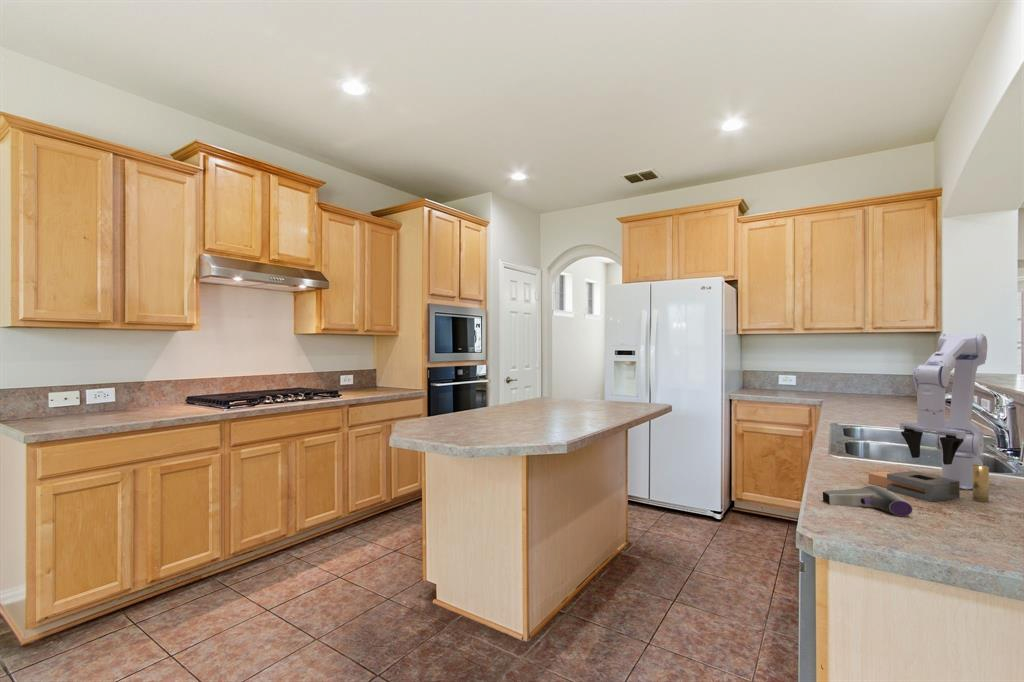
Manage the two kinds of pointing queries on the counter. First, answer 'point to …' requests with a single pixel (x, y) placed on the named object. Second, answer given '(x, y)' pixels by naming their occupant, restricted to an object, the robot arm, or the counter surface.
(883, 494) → the infrared thermometer
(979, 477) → the brass pin
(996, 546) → the counter surface
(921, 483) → the bracket
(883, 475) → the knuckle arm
